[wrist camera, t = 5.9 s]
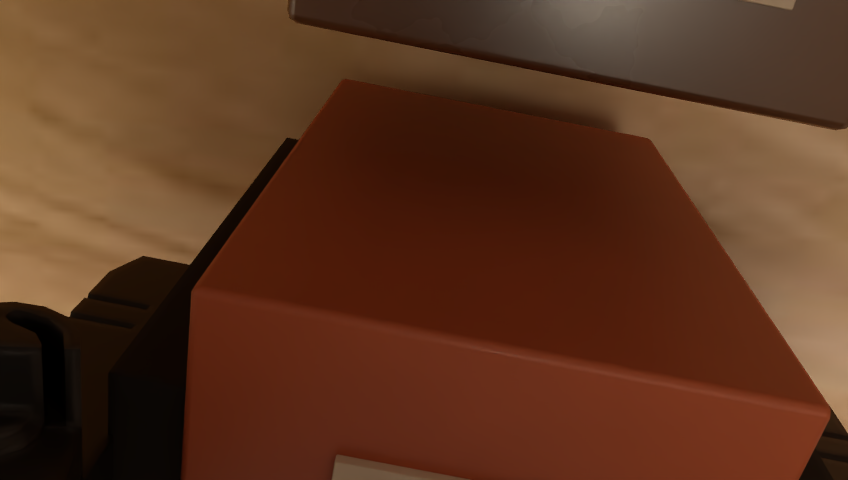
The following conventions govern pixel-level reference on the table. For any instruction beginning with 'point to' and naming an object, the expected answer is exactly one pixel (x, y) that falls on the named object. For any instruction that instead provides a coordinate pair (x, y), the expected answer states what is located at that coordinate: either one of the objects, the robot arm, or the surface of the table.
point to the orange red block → (483, 313)
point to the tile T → (635, 45)
